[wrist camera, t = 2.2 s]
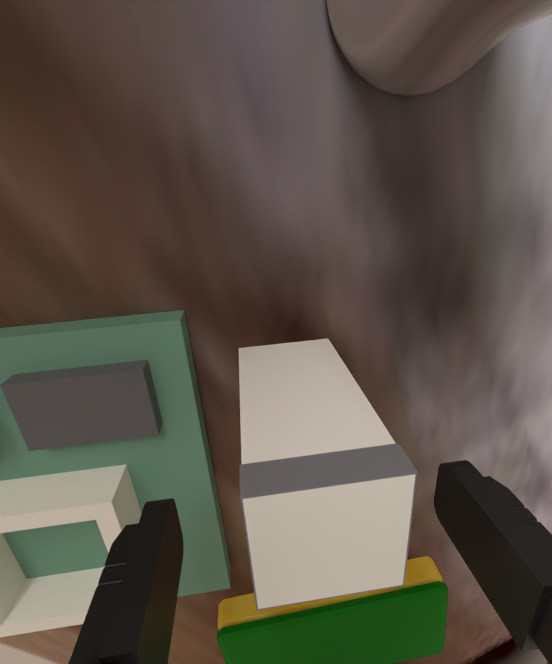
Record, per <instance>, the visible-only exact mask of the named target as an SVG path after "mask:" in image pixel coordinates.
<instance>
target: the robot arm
mask: <svg viewBox="0 0 552 664" xmlns="http://www.w3.org/2000/svg"><path fill="white" fill-rule="evenodd" d="M434 506H435V511H436V514H437V517H438V519H439V521H440V523H441V525H442V526H443V528H444V529H445V531H446V533H447V534H448V536H449V537H450V539H451V540H452V542H453V544H454V545H455V547H456V548H457V550H458V552H459V553H460V555H461V556H462V558H463V560H464V561H465V563H466V564H467V566H468V567H469V569H470V571H471V572H472V574H473V575H474V577H475V579H476V580H477V582H478V583H479V585H480V587H481V588H482V590H483V591H484V593H485V595H486V596H487V598H488V599H489V601H490V602H491V604H492V606H493V607H494V609H495V610H496V612H497V614H498V615H499V617H500V618H501V620H502V622H503V623H504V625H505V626H506V628H507V629H508V631H509V633H510V634H511V636H512V637H513V639H514V641H515V642H516V644H517V645H518V647H519V649H520V650H521V651H522V652H523V651H528V650H533V649H540V651H541V652H542V654H543V655H544V657H545V658H546V660H547V664H552V535H551V533H550V532H549V531H548V530H547V529H546V528H545V527H544V526H543V525H542V524H541V523H540V522H537V519H536V518H535V516H534V515H533V514H532V513H531V512H530V511H529V510H528V509H527V508H526V509H525V508H524V505H523V504H522V503H521V502H520V500H519V499H518V498H517V497H516V496H515V495H514V494H513V493H512V492H511V491H510V490H509V489H508V488H506V487H505V486H503V485H502V484H500V483H499V482H497V481H496V480H494V479H493V478H491V477H490V476H488V477H483V476H482V475H481V474H480V473H479V471H478V470H477V469H476V468H475V467H474V466H473V465H472V464H471V463H470V462H469V461H466V460H464V461H456V462H449V463H442V464H440V466H439V469H438V476H437V483H436V490H435V496H434ZM183 551H184V543H183V534H182V529H181V525H180V521H179V516H178V512H177V508H176V503H175V500H174V499H173V498H170V499H162V500H155V501H147V502H146V503H145V505H144V507H143V510H142V514H141V517H140V520H139V523H137V524H130V525H126V526H125V527H124V528H123V530H122V531H121V532H120V534H119V535H118V536H117V538H116V539H115V540H114V542H113V543H112V545H111V548H110V551H109V553H108V556H107V559H106V562H105V567H104V569H103V570H102V573H101V576H100V578H99V581H98V587H96V590H95V592H94V595H93V598H92V601H91V603H90V606H89V609H88V612H87V614H86V617H85V620H84V623H83V626H82V628H81V631H80V634H79V637H78V639H77V642H76V645H75V648H74V651H73V653H72V656H71V659H70V661H69V664H167V663H168V656H169V649H170V642H171V636H172V629H173V622H174V616H175V609H176V602H177V595H178V589H179V582H180V575H181V568H182V562H183Z"/></svg>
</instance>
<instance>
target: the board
mask: <svg viewBox="0 0 552 664" xmlns="http://www.w3.org/2000/svg"><path fill="white" fill-rule="evenodd" d="M170 498H173V499H174V500H175V503H176V508H177V512H178V516H179V521H180V525H181V529H182V534H183V543H184V551H183V562H182V568H181V575H180V582H179V589H178V595H177V597H181V596H187V595H193V594H199V593H206V592H212V591H218V590H224V589H230V586H231V566H230V560H229V554H228V549H227V543H226V538H225V532H224V527H223V521H222V516H221V510H220V505H219V499H218V494H217V488H216V482H215V477H214V471H213V466H212V460H211V455H210V449H209V444H208V438H207V433H206V427H205V422H204V416H203V410H202V405H201V399H200V394H199V388H198V383H197V377H196V372H195V366H194V361H193V355H192V349H191V344H190V338H189V333H188V327H187V322H186V316H185V311H184V310H178V311H168V312H158V313H147V314H137V315H127V316H117V317H107V318H97V319H87V320H76V321H66V322H56V323H46V324H36V325H26V326H16V327H5V328H0V637H6V636H12V635H18V634H24V633H30V632H36V631H42V630H48V629H55V628H61V627H67V626H73V625H79V624H83V623H84V620H85V617H86V614H87V612H88V609H89V606H90V603H91V601H92V598H93V595H94V592H95V590H96V587H98V581H99V578H100V576H101V573H102V570H103V569H104V567H105V562H106V559H107V556H108V553H109V551H110V548H111V545H112V543H113V542H114V540H115V539H116V538H117V536H118V535H119V534H120V532H121V531H122V530H123V528H124V527H125V526H126V525H130V524H137V523H139V520H140V517H141V514H142V510H143V507H144V505H145V503H146V502H147V501H155V500H162V499H170Z"/></svg>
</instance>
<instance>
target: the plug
mask: <svg viewBox="0 0 552 664" xmlns="http://www.w3.org/2000/svg"><path fill="white" fill-rule="evenodd" d="M239 384H240V423H241V461H242V464H241V465H239V471H240V501H241V508H242V515H243V522H244V528H245V535H246V542H247V549H248V556H249V562H250V569H251V576H252V583H253V590H254V596H255V603H256V610H257V611H258V610H263V609H269V608H275V607H281V606H287V605H293V604H299V603H305V602H311V601H317V600H323V599H329V598H334V597H340V596H346V595H352V594H358V593H364V592H370V591H376V590H382V589H388V588H394V587H400V586H404V584H405V576H406V567H407V559H408V551H409V542H410V534H411V525H412V517H413V509H414V500H415V492H416V483H417V475H418V472H417V470H416V469H415V467H414V466H413V464H412V463H411V461H410V460H409V458H408V457H407V455H406V454H405V452H404V451H403V449H402V447H401V446H400V444H399V443H395V442H394V440H393V438H392V437H391V435H390V434H389V432H388V431H387V429H386V428H385V426H384V425H383V423H382V421H381V420H380V418H379V417H378V415H377V414H376V412H375V411H374V409H373V407H372V406H371V404H370V403H369V401H368V400H367V398H366V397H365V395H364V393H363V392H362V390H361V389H360V387H359V386H358V384H357V383H356V381H355V379H354V378H353V376H352V375H351V373H350V372H349V370H348V369H347V367H346V365H345V364H344V362H343V361H342V359H341V358H340V356H339V355H338V353H337V351H336V350H335V348H334V347H333V345H332V344H331V342H330V341H329V339H319V340H310V341H301V342H292V343H282V344H273V345H264V346H255V347H246V348H239Z"/></svg>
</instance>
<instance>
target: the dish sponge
mask: <svg viewBox="0 0 552 664" xmlns="http://www.w3.org/2000/svg"><path fill="white" fill-rule="evenodd" d="M447 600H448V588H447V586H446V584H445V583H443V582H442V577H441V575H440V573H439V571H438V569H437V567H436V565H435V564H434V562H433V560H432V558H430V557H428V556H423V557H419V558H414V559H409V560H407V567H406V576H405V584H404V586H400V587H394V588H388V589H382V590H376V591H370V592H364V593H358V594H352V595H346V596H340V597H334V598H329V599H323V600H317V601H311V602H305V603H299V604H293V605H287V606H281V607H275V608H269V609H263V610H258V611H257V610H256V603H255V596H254V593H251V594H246V595H242V596H237V597H232V598H228V599H223V600H222V601H221V602H220V603H219V607H218V629H219V631H218V632H217V640H218V643H219V646H220V648H221V651H222V654H223V656H224V659H225V662H226V664H393V663H398V662H402V661H406V660H411V659H415V658H420V657H424V656H429V655H433V654H438V653H440V652H441V651H442V650H444V638H445V625H446V612H447Z"/></svg>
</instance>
